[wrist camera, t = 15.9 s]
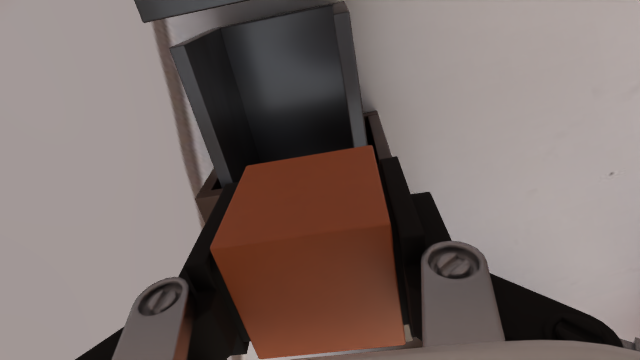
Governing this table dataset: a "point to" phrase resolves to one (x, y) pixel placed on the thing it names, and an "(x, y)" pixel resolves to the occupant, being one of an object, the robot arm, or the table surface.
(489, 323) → the robot arm
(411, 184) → the table surface
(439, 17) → the table surface
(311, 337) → the block
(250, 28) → the drawer
